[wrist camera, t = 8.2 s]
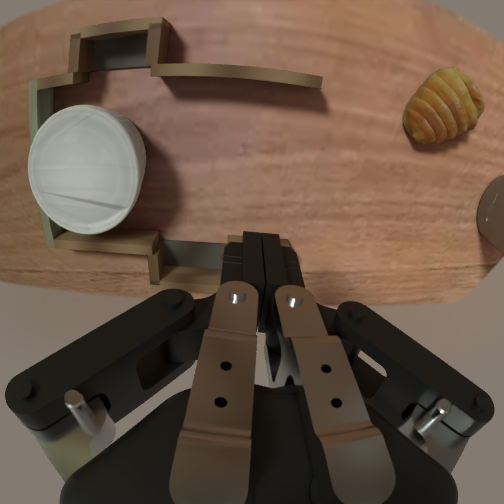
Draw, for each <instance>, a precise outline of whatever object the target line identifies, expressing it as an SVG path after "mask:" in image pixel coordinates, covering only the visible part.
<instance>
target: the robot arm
mask: <svg viewBox="0 0 504 504" xmlns="http://www.w3.org/2000/svg"><path fill="white" fill-rule="evenodd" d="M477 224H478V229H479V231H480V233H481V234H482V235H483V236H484V237H485V238H486V239H487V240H488V241H489V242H490V243H491V244H492V245H493V246H495V247H496V248H497V249H498V250H499V251H500V252H501V253H502V254H503V255H504V175H503V176H500V177H498V178H496V179H495V180H494V181H493V182H492V183H491V184H490V185H489V186H488V188H487V189H486V191H485V192H484V194H483V196H482V199H481V201H480V204H479V208H478V214H477ZM257 327H258V332H262V333H265V334H266V340H265V345H264V354H265V360H266V366H267V372H268V379H269V385H270V388H269V387H265V386H260V385H256V384H254V382H255V381H254V380H255V365H256V351H257V335H256V332H257ZM360 350H362V351H363V352H364V353H365V354H367V355H368V356H370V357H371V358H372V359H373V360H375V361H376V362H377V363H378V364H380V365H381V366H382V367H383V368H384V369H385V371H386V373H387V377H385V376H383V375H381V374H380V373H379V372H378V371H376V370H375V369H374V368H372V367H371V366H370V365H369V364H367V363H366V362H365V361H363V360H362V359H361V358H360V357H358V354H359V352H360ZM195 360H198V361H197V366H196V370H195V375H194V379H193V383H192V388H191V389H187V390H184V391H182V392H179V393H177V394H175V395H173V396H171V397H170V398H168V399H167V400H165V401H164V402H163V403H162V404H160V405H159V406H158V407H157V408H156V409H154V410H153V411H152V412H151V413H150V414H148V415H147V416H146V417H145V418H144V419H143V420H141V421H140V422H139V423H138V424H136V425H135V426H134V427H132V428H131V429H130V430H129V431H127V432H126V433H125V434H124V435H123V436H121V437H120V438H119V439H117V440H116V441H115V442H114V443H112V444H111V445H110V446H108V445H109V444H110V443H111V442H112V441H113V439H114V437H115V433H116V428H115V423H116V422H118V421H119V420H120V419H122V418H123V417H125V416H126V415H127V414H129V413H130V412H132V411H133V410H134V409H136V408H137V407H138V406H140V405H141V404H143V403H144V402H145V401H147V400H148V399H149V398H151V397H152V396H153V395H154V394H156V393H157V392H159V391H160V390H161V389H163V388H164V387H165V386H167V385H168V384H169V383H170V382H172V381H173V380H174V379H176V378H177V377H178V376H179V375H181V374H182V373H183V372H185V371H186V370H187V369H188V368H190V367H191V366H192V365H193V364H194V362H195ZM5 399H6V403H7V405H8V406H9V408H10V409H11V410H12V411H13V412H14V413H15V415H16V416H17V417H18V418H19V419H20V421H21V422H22V424H23V425H24V426H25V427H26V428H27V429H28V430H29V431H30V432H31V433H32V434H33V435H34V436H35V437H36V439H37V441H38V442H39V444H40V446H41V447H42V449H43V451H44V452H45V454H46V455H47V457H48V458H49V460H50V461H51V463H52V464H53V466H54V467H55V469H56V470H57V472H58V473H59V474H60V476H61V477H62V479H63V480H64V481H65V484H64V486H63V488H62V491H61V495H60V504H457V502H458V491H457V487H456V483H455V480H454V479H453V477H452V475H451V472H452V470H453V468H454V467H455V465H456V463H457V461H458V460H459V457H460V456H461V454H462V452H463V450H464V448H465V446H466V444H467V442H468V440H469V438H470V437H471V436H473V435H474V434H475V433H476V432H477V431H478V430H480V429H481V428H482V427H483V426H484V425H485V424H486V423H488V422H489V421H490V420H491V418H492V417H493V415H494V404H493V401H492V399H491V398H490V396H489V395H488V394H487V393H486V392H485V391H483V390H482V389H481V388H479V387H478V386H477V385H475V384H474V383H473V382H471V381H470V380H469V379H467V378H466V377H464V376H463V375H462V374H460V373H459V372H458V371H456V370H455V369H453V368H452V367H451V366H449V365H448V364H447V363H445V362H444V361H443V360H441V359H440V358H438V357H437V356H436V355H434V354H433V353H432V352H430V351H429V350H427V349H426V348H425V347H423V346H422V345H420V344H419V343H417V342H416V341H415V340H413V339H412V338H411V337H409V336H408V335H406V334H405V333H404V332H402V331H401V330H399V329H398V328H397V327H395V326H393V325H392V324H391V323H389V322H388V321H387V320H385V319H383V318H382V317H381V316H380V315H378V314H377V313H375V312H374V311H372V310H371V309H370V308H368V307H367V306H365V305H363V304H361V303H358V302H353V301H348V302H343V303H342V304H340V305H339V306H338V309H337V310H335V309H332V308H328V307H325V306H322V305H320V304H318V303H316V301H315V298H314V296H313V295H312V293H311V292H310V291H308V290H307V289H305V285H304V281H303V277H302V273H301V269H300V265H299V263H298V258H297V254H296V253H295V252H294V250H293V249H292V248H291V247H288V246H281V243H280V238H279V234H271V233H259V232H248V231H243V238H242V243H241V242H229V243H228V244H227V245H226V246H225V247H224V255H223V264H222V273H221V282H220V286H219V288H218V290H217V292H216V293H215V294H213V295H211V296H209V297H206V298H202V299H195V300H194V298H193V297H192V295H191V294H189V293H188V292H186V291H184V290H181V289H166V290H163V291H161V292H159V293H157V294H155V295H153V296H152V297H150V298H148V299H146V300H145V301H143V302H141V303H140V304H138V305H136V306H134V307H132V308H131V309H129V310H127V311H126V312H124V313H122V314H120V315H119V316H117V317H115V318H113V319H112V320H110V321H108V322H107V323H105V324H103V325H101V326H100V327H98V328H96V329H94V330H93V331H92V332H89V333H88V334H86V335H84V336H82V337H81V338H79V339H77V340H76V341H74V342H72V343H70V344H69V345H67V346H65V347H64V348H62V349H60V350H59V351H57V352H56V353H53V354H52V355H50V356H48V357H47V358H45V359H44V360H42V361H40V362H38V363H37V364H35V365H33V366H31V367H30V368H28V369H26V370H25V371H23V372H21V373H20V374H18V375H16V376H15V377H14V378H13V379H11V381H10V382H9V383H8V385H7V388H6V391H5ZM107 446H108V447H107ZM106 447H107V448H106Z"/></svg>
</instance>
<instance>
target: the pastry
mask: <svg viewBox="0 0 504 504" xmlns="http://www.w3.org/2000/svg"><path fill="white" fill-rule="evenodd" d="M482 112H484V102H483V98H482V96H481V93H480V90H479V89H478V87H477V86H476V85H475V84H474V82H473V80H472V79H471V78H470V77H469V76H468V75H467V74H465V73H464V72H463V71H461V70H460V69H459V68H456V67H452V68H446V69H440V70H438V71H436V72H435V73H433V74H432V75H430V76H429V78H428V79H427V80H426V81H425V82H424V83H423V84H422V85H421V86H420V87H419V89H418V90H417V92H416V93H415V94H414V95H413V97H412V98H411V99H410V101H409V102H408V104H407V105H406V108H405V111H404V114H403V124H404V126H405V128H406V130H407V132H408V133H409V134H410V135H411V136H412V137H413V139H414V140H415V141H416V142H419V143H421V144H424V145H428V144H432V143H441V142H442V141H445V140H446V141H448V140H452V139H454V137H460V136H461V135H462V134H464V133H466V131H467V129H470V130H471V129H473V128H474V127H475V126H476V124H477V119H478V118H479V117H480V115H481V113H482Z"/></svg>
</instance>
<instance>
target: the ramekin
mask: <svg viewBox="0 0 504 504" xmlns="http://www.w3.org/2000/svg"><path fill="white" fill-rule="evenodd" d="M145 167H146V149H145V147H144V142H143V140H142V137H141V135H140V133H139V131H138V130H137V128H136V127H135V125H133V123H132V122H131V121H130V120H128V119H127V118H126V117H125V116H123V115H121V114H120V113H117V112H115V111H113V110H109V109H104V108H101V107H98V106H93V105H76V106H72V107H68V108H65V109H63V110H61V111H59V112H57V113H55V114H54V115H52V116H51V117H50V118H49V119H48V120H47V121H46V122H45V123H44V124H43V125H42V126H41V127H40V129H39V130H38V132H37V134H36V135H35V138H34V140H33V142H32V145H31V148H30V152H29V160H28V174H29V181H30V185H31V189H32V192H33V194H34V196H35V199H36V200H37V202H38V204H39V205H40V207H41V208H42V210H43V211H44V212H45V213H46V214H47V216H48V217H49V218H51V219H52V220H53V221H54V222H55V223H57V224H58V225H60V226H61V227H63V228H65V229H67V230H69V231H72V232H75V233H79V234H88V235H91V234H99V233H102V232H105V231H108V230H110V229H112V228H114V227H115V226H117V225H118V224H119V223H121V222H122V221H123V220H124V219H125V217H126V216H127V215H128V214H129V213H130V211H131V210H132V208H133V206H134V205H135V203H136V201H137V198H138V196H139V193H140V189H141V184H142V181H143V177H144V174H145Z"/></svg>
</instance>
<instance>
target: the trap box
mask: <svg viewBox="0 0 504 504" xmlns="http://www.w3.org/2000/svg"><path fill="white" fill-rule="evenodd" d="M170 24H171V23H169V22H168V21H167V20H166V19H164V18H163V17H155V18H143V19H133V20H124V21H117V22H110V23H104V24H98V25H92V26H87V27H82V28H77V29H73V30H71V40H70V51H69V67H68V73H67V74H61V75H56V76H51V77H46V78H42V79H38V80H33V81H29V123H30V139H31V145H32V142H33V140H34V138H35V135H36V134H37V132H38V130H39V129H40V127H41V126H42V125H43V124H44V123H45V122H46V121H47V120H48V119H49V118H50V117H51V116H52V115H54V87H59V86H65V85H71V84H77V83H85V82H88V73H89V72H91V71H99V70H107V69H117V68H129V67H143V66H151V76H158V77H163V76H196V77H222V78H237V79H249V80H259V81H268V82H276V83H284V84H291V85H298V86H304V87H310V88H318V89H321V85H322V78H323V77H320V76H315V75H310V74H304V73H298V72H291V71H284V70H277V69H269V68H260V67H250V66H238V65H223V64H193V63H174V64H167V53H168V42H169V33H170ZM39 208H40V214H41V219H42V223H43V228H44V233H45V237H46V241H47V245H48V248H61V249H74V250H87V251H100V252H114V253H127V254H141V255H147V257H148V267H149V277H150V285H151V288H152V289H164V290H166V289H181V290H184V291H190V292H204V293H216V292H217V290H218V288H219V286H220V282H221V273H222V264H223V255H224V247H225V246H226V245H227V244H228V243H229V242H241V243H242V238H243V236H234V235H228V243H227V244H222V243H207V242H191V241H175V240H159V231H154V230H136V229H117V228H112V229H110V230H108V231H105V232H102V233H99V234H91V235H88V234H79V233H75V232H72V231H69V230H67V229H65V228H63V227H61V226H60V225H58V224H57V223H55V222H54V221H53V220H52V219H51V218H49V217H48V216H47V214H46V213H45V212H44V211H43V210H42V208H41V207H40V205H39ZM280 243H281V246H288V247H290V245H289V242H288V239H280Z"/></svg>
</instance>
